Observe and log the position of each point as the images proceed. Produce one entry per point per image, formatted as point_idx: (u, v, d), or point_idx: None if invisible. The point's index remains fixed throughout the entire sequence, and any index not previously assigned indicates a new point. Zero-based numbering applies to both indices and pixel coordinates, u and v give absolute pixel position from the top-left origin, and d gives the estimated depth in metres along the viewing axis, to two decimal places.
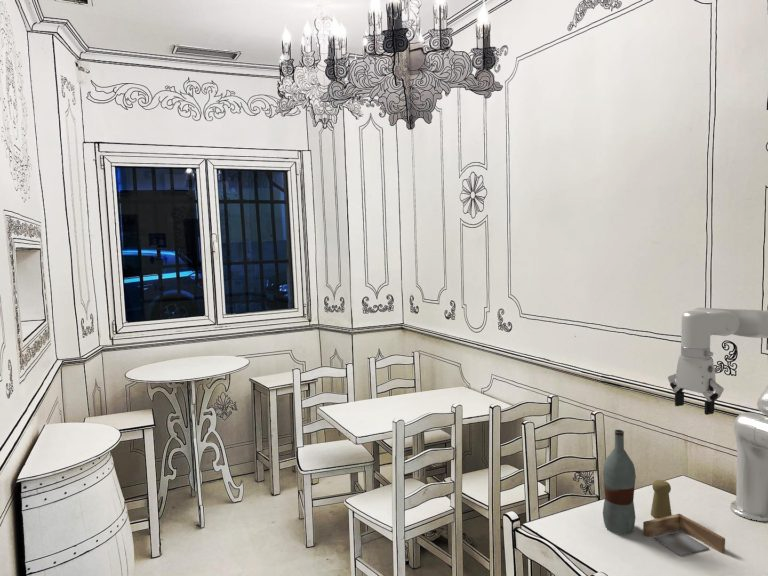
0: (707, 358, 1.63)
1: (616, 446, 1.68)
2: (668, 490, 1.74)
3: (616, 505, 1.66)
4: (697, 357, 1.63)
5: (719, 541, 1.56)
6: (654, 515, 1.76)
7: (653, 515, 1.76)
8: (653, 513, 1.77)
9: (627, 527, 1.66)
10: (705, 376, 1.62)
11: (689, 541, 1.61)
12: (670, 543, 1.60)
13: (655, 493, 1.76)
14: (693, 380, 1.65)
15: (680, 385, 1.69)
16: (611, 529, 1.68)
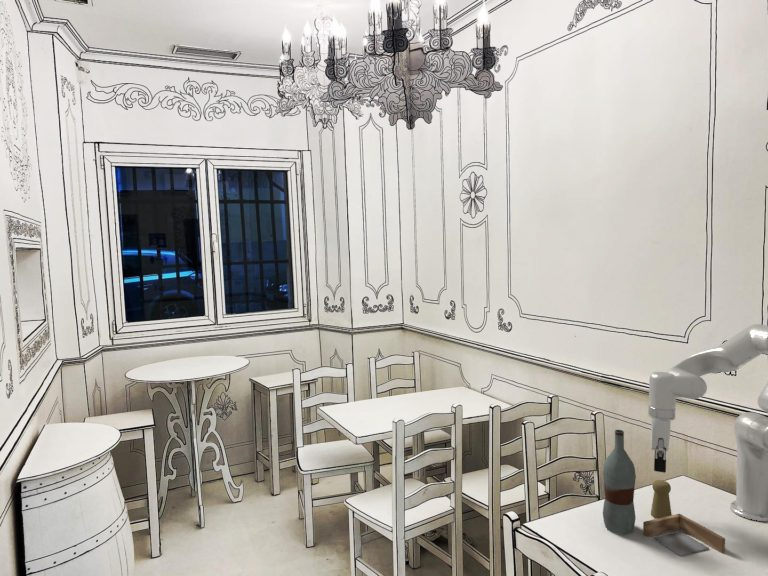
0: None
1: (616, 446, 1.68)
2: (668, 490, 1.74)
3: (616, 505, 1.66)
4: None
5: (719, 541, 1.56)
6: (654, 515, 1.76)
7: (653, 515, 1.76)
8: (653, 513, 1.77)
9: (627, 527, 1.66)
10: None
11: (689, 541, 1.61)
12: (670, 543, 1.60)
13: (655, 493, 1.76)
14: None
15: None
16: (611, 529, 1.68)
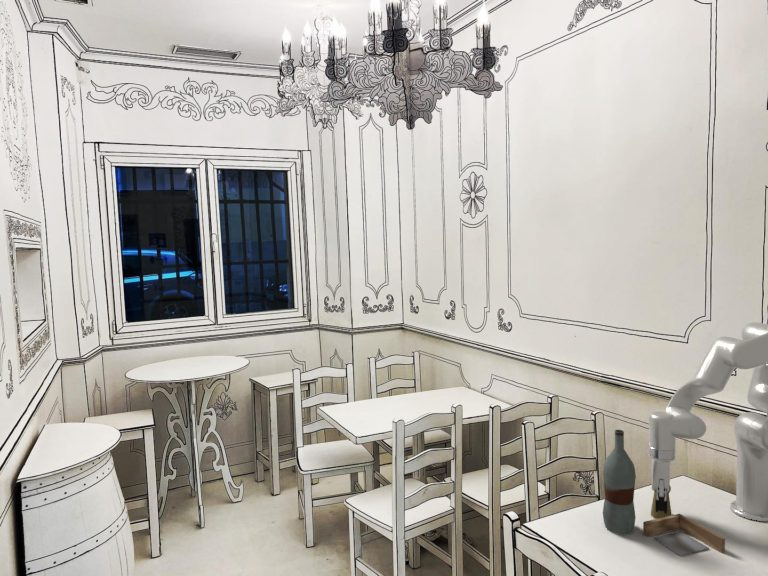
0: None
1: (616, 446, 1.68)
2: None
3: (616, 505, 1.66)
4: None
5: (719, 541, 1.56)
6: (654, 515, 1.76)
7: (653, 515, 1.76)
8: (653, 513, 1.77)
9: (627, 527, 1.66)
10: None
11: (689, 541, 1.61)
12: (670, 543, 1.60)
13: (655, 493, 1.76)
14: None
15: None
16: (611, 529, 1.68)
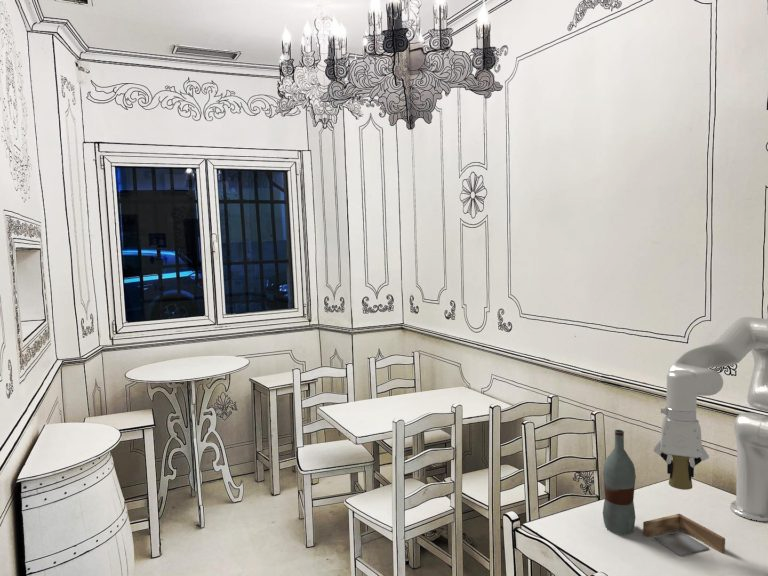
0: (666, 416, 1.60)
1: (616, 446, 1.68)
2: None
3: (616, 505, 1.66)
4: None
5: (719, 541, 1.56)
6: (689, 486, 1.57)
7: (688, 487, 1.57)
8: (687, 485, 1.57)
9: (627, 527, 1.66)
10: None
11: (689, 541, 1.61)
12: (670, 543, 1.60)
13: (685, 462, 1.57)
14: None
15: None
16: (611, 529, 1.68)
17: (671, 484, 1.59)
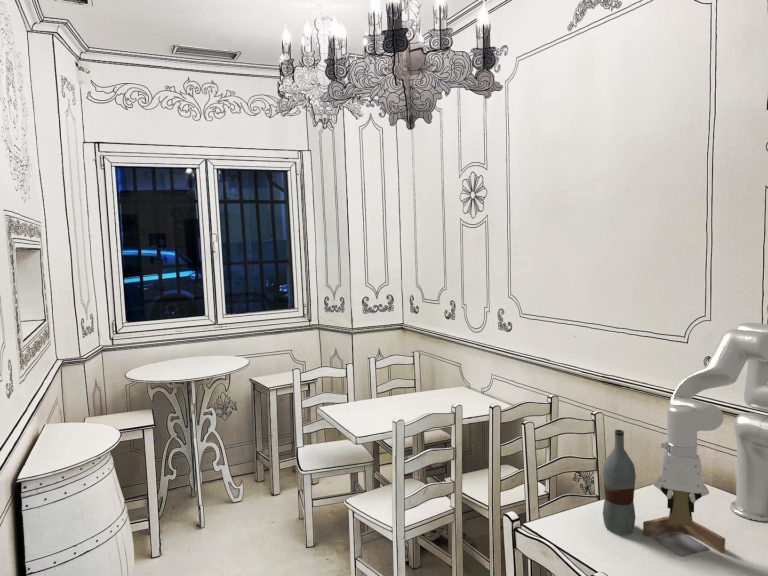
0: (666, 451, 1.60)
1: (616, 446, 1.68)
2: None
3: (616, 505, 1.66)
4: None
5: (719, 541, 1.56)
6: (689, 522, 1.57)
7: (688, 522, 1.57)
8: (688, 520, 1.57)
9: (627, 527, 1.66)
10: None
11: (689, 541, 1.61)
12: (670, 543, 1.60)
13: (685, 497, 1.57)
14: None
15: None
16: (611, 529, 1.68)
17: (671, 519, 1.59)
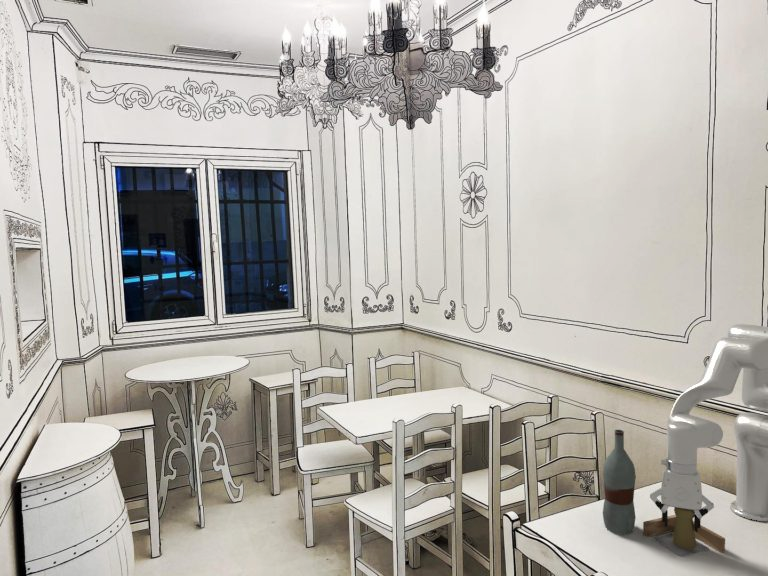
0: (666, 468, 1.60)
1: (616, 446, 1.68)
2: None
3: (616, 505, 1.66)
4: None
5: (719, 541, 1.56)
6: (693, 545, 1.58)
7: (692, 546, 1.57)
8: (691, 544, 1.57)
9: (627, 527, 1.66)
10: None
11: None
12: (670, 543, 1.60)
13: (689, 521, 1.58)
14: None
15: None
16: (611, 529, 1.68)
17: (675, 542, 1.60)
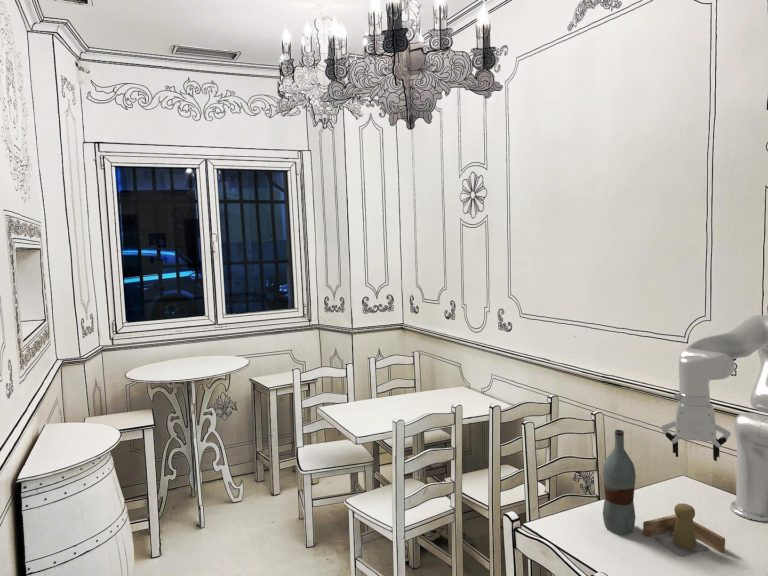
0: (679, 402, 1.62)
1: (616, 446, 1.68)
2: None
3: (616, 505, 1.66)
4: None
5: (719, 541, 1.56)
6: (693, 545, 1.58)
7: (692, 546, 1.57)
8: (691, 544, 1.57)
9: (627, 527, 1.66)
10: None
11: None
12: (670, 543, 1.60)
13: (689, 521, 1.58)
14: None
15: None
16: (611, 529, 1.68)
17: (675, 542, 1.60)
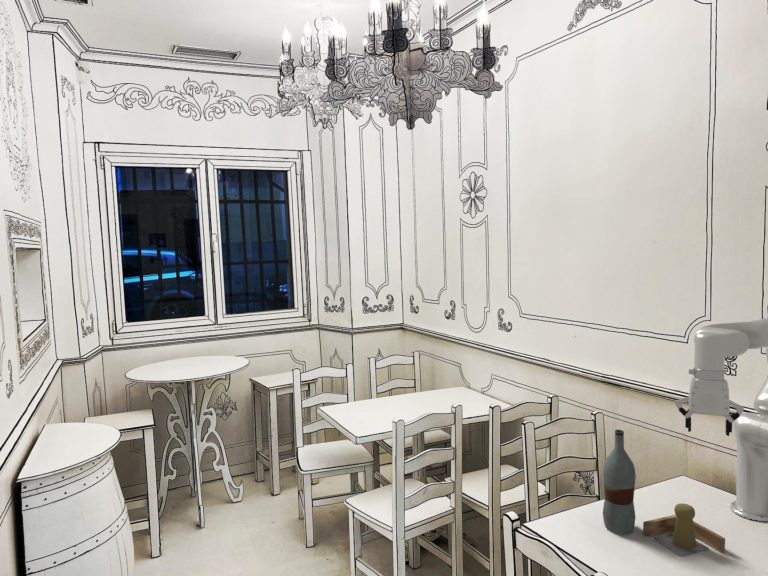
0: (694, 377, 1.64)
1: (616, 446, 1.68)
2: None
3: (616, 505, 1.66)
4: None
5: (719, 541, 1.56)
6: (693, 545, 1.58)
7: (692, 546, 1.57)
8: (691, 544, 1.57)
9: (627, 527, 1.66)
10: None
11: None
12: (670, 543, 1.60)
13: (689, 521, 1.58)
14: None
15: None
16: (611, 529, 1.68)
17: (675, 542, 1.60)
